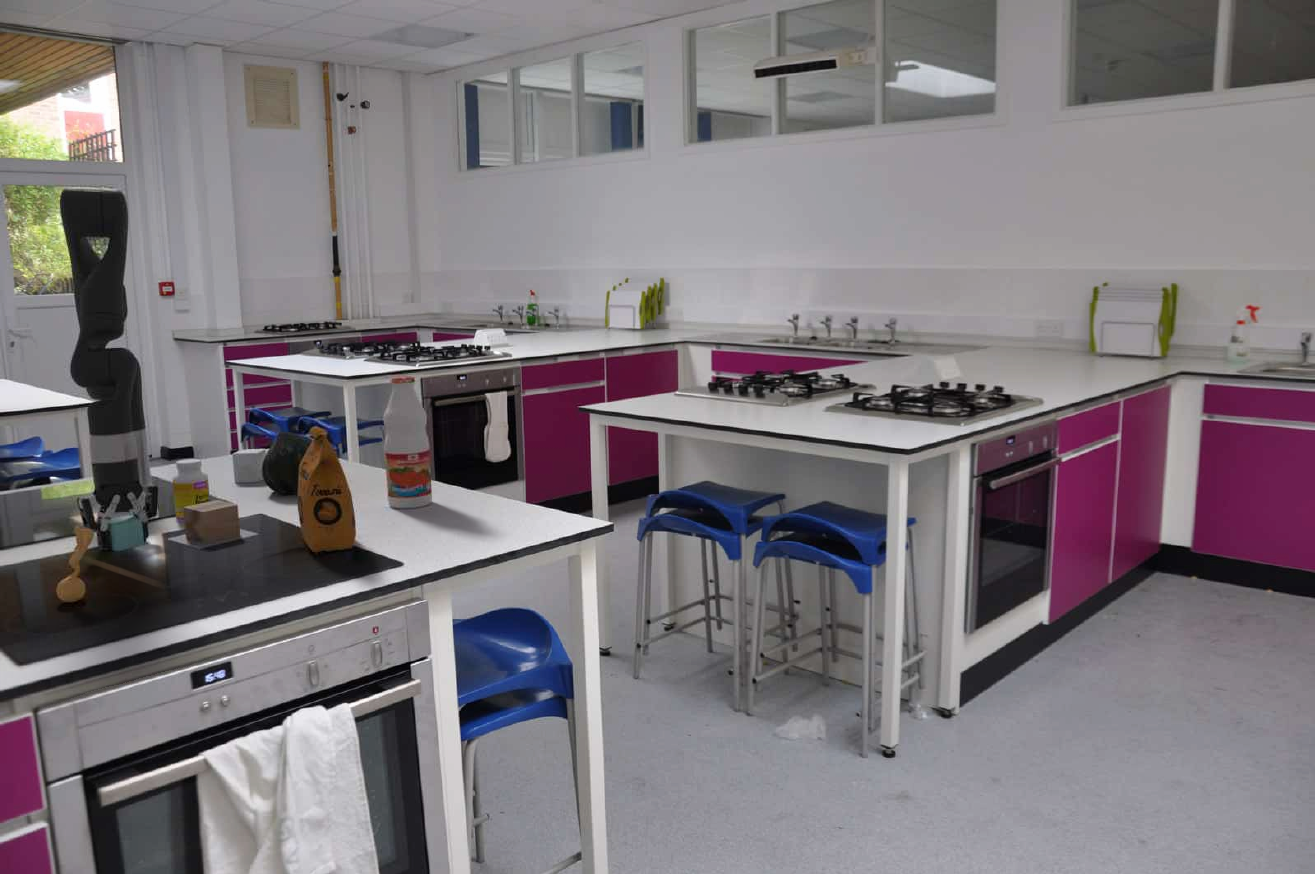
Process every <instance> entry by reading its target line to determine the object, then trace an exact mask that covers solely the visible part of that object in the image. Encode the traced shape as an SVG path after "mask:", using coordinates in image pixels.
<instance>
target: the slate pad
mask: <svg viewBox="0 0 1315 874" xmlns="http://www.w3.org/2000/svg"><path fill="white" fill-rule="evenodd" d="M258 535H260V533H258V532H253V531H250V530H246V529H241V528H240V535H238V536H234V537H230V538H226V539H222V540H218V541H213V542H209V543H203V542H199V541H196V540H192V539H189V538H186V533H184V534H181V535H177V536H173V537H169V538H167V540H169V541H172V542H174V543H175V542H176V543H179V544H182V545H185V546H189V547H193V548H196V549H199V550H201V549H204V548H210V547H213V546H216V545H221V544H225V543H229V542H234V541H238V540H241V539H246V538H251V537H254V536H258Z"/></svg>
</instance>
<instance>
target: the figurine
mask: <svg viewBox="0 0 1315 874" xmlns="http://www.w3.org/2000/svg"><path fill="white" fill-rule="evenodd" d="M72 532H73V534H75V535H76V537H75V541H76V546H75V547H74V550H73V552H74V553H73V554H72V555H71V556H70V557H69V562H68V563H69V565H70V567H71V568H73V569H74V572H73V573H72V574H69V575H68V576H67V577H65V578H63V579H61V581H59V582H58V584H57V586H56V594H57V597H58V598H59V599H60V600H61V601H63V602H65V603H66V602H67V603H74V602H78V601H79V600H81V599H82V598H83V597H84V595H85V593H86V584H85V582H84V581H83V580H82V579H80V577H78V575H79V574H80V572H81V570H80V569H81V567H80V566H81V565H80V560H82V559H83V557H84V555H85V553H86V551H87V550H88V548H89V546H90V545H91V543H92V542H93V540H94V537H95V532H94V530H91V529H88V528H83V527H80V526H75V527H74V528H73V531H72Z"/></svg>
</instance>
